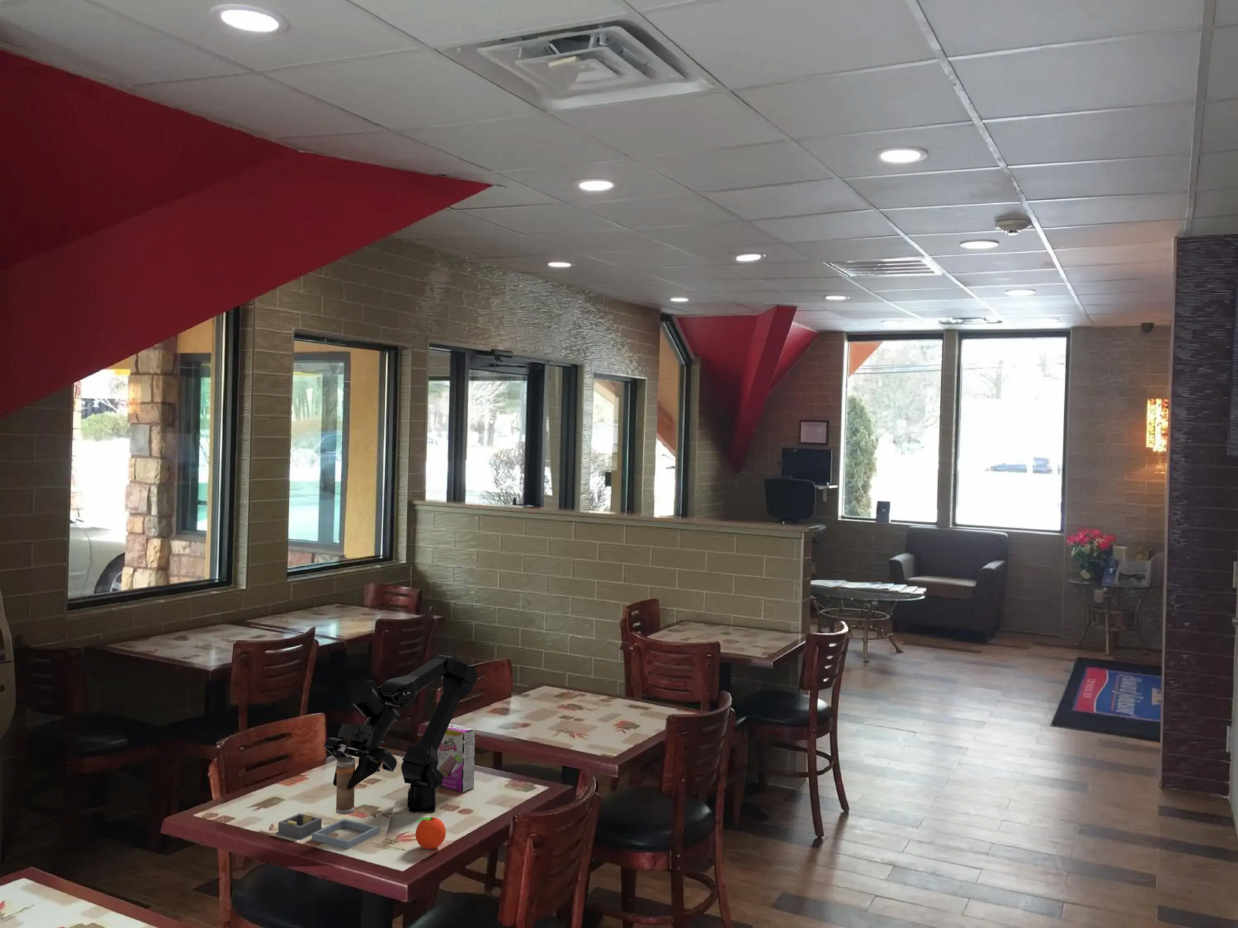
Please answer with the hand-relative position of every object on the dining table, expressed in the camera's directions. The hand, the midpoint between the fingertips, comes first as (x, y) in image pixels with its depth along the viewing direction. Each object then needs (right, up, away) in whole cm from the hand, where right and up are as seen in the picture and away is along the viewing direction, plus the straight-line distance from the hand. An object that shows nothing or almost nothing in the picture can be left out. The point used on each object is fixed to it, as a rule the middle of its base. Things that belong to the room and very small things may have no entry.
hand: (341, 786), depth 232 cm
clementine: (+20, -14, 0) cm, 25 cm away
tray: (+1, -13, +1) cm, 13 cm away
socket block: (-11, -13, +4) cm, 17 cm away
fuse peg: (+1, -6, +1) cm, 6 cm away
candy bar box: (+19, -14, +42) cm, 48 cm away
